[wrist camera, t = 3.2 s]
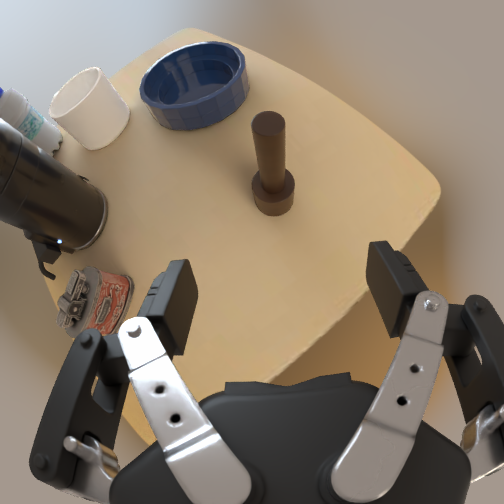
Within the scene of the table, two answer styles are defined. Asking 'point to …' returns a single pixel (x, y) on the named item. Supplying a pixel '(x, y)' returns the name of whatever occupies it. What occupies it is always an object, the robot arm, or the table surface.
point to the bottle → (28, 121)
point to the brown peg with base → (271, 165)
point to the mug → (90, 109)
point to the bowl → (195, 85)
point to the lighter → (94, 301)
